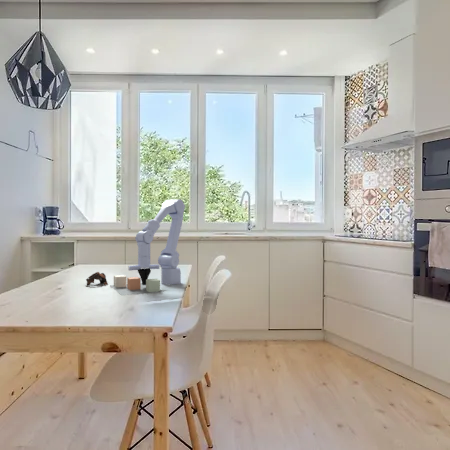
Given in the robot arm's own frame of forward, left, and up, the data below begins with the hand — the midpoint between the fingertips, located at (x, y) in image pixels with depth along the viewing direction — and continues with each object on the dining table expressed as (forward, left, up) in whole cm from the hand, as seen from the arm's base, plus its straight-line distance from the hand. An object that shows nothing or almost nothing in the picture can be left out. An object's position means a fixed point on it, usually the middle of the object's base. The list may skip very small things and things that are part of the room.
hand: (144, 284), depth 179 cm
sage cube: (-2, +9, -1) cm, 9 cm away
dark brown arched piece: (+18, -20, -3) cm, 27 cm away
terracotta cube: (+5, 0, -1) cm, 5 cm away
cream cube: (+9, -9, -1) cm, 13 cm away
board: (+4, 0, -2) cm, 5 cm away
